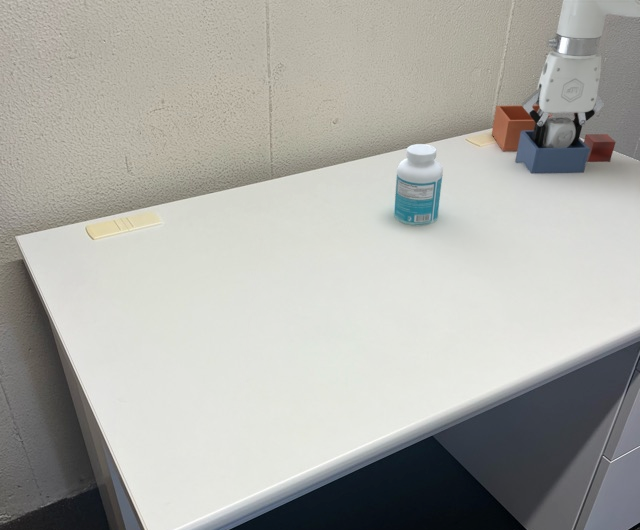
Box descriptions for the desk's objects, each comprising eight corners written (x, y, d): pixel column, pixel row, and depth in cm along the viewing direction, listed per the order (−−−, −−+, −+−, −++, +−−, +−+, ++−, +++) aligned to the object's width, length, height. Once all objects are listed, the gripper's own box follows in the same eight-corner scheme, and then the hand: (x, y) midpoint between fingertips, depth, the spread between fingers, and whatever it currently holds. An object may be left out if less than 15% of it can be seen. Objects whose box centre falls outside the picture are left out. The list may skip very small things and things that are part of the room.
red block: (601, 154, 130) (607, 133, 127) (609, 162, 126) (615, 141, 123) (580, 154, 130) (585, 134, 127) (588, 163, 126) (593, 142, 123)
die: (535, 142, 121) (540, 117, 118) (558, 139, 122) (563, 114, 119) (549, 151, 117) (554, 125, 114) (572, 148, 118) (578, 123, 115)
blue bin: (563, 160, 127) (571, 129, 123) (581, 181, 119) (590, 148, 115) (515, 161, 127) (521, 130, 123) (529, 181, 119) (536, 149, 115)
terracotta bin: (535, 134, 140) (541, 105, 136) (549, 150, 132) (556, 120, 128) (491, 134, 140) (496, 105, 136) (503, 151, 132) (508, 120, 128)
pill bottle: (412, 210, 109) (419, 136, 101) (445, 224, 105) (455, 149, 97) (384, 224, 105) (388, 148, 97) (417, 239, 101) (425, 161, 93)
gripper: (534, 51, 106) (515, 151, 116) (633, 49, 106) (605, 150, 117) (522, 41, 112) (505, 137, 122) (615, 39, 112) (590, 136, 123)
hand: (554, 142), depth 119 cm, fingers closed on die, 5 cm apart
